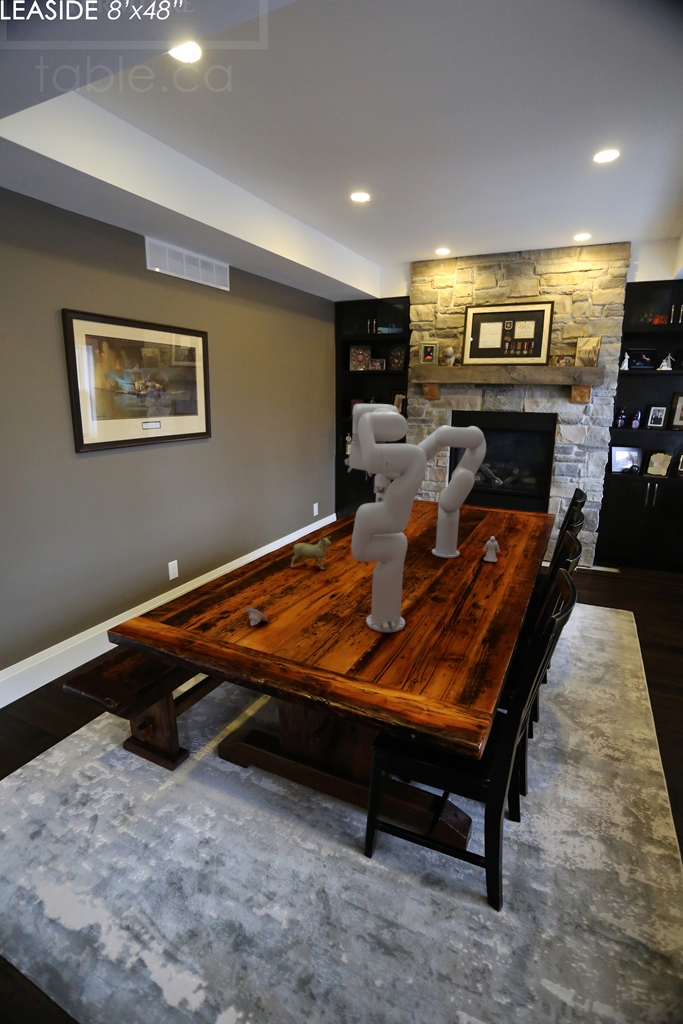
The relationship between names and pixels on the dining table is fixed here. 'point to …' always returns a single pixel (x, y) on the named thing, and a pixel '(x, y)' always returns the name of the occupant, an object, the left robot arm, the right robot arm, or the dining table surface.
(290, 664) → the dining table surface
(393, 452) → the left robot arm
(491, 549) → the figurine
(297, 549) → the toy
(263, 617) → the seashell
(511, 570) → the dining table surface
